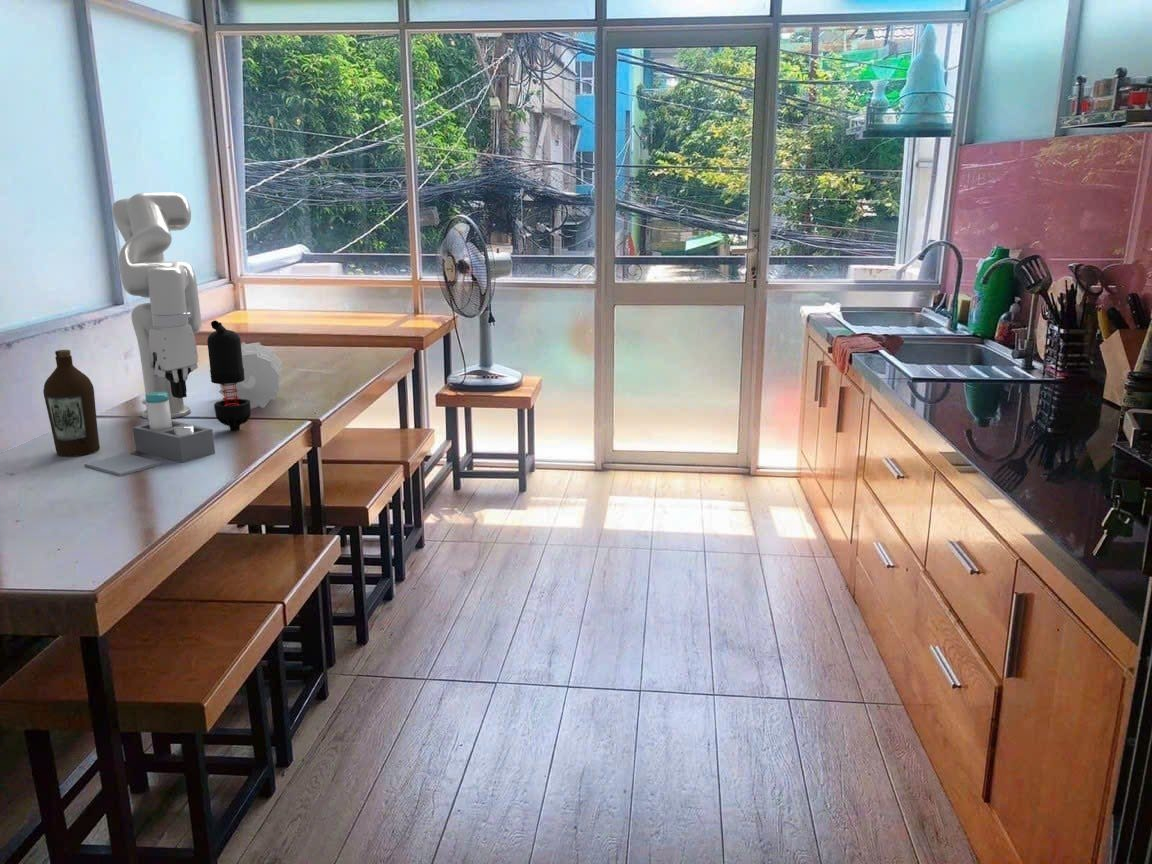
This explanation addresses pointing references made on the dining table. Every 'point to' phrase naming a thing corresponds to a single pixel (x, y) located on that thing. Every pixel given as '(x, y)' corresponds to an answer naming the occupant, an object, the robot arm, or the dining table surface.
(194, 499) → the dining table surface
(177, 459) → the housing
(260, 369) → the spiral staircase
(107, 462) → the mat
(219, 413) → the filter
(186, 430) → the silver metallic cylinder
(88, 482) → the dining table surface
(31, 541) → the dining table surface
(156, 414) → the cylinder
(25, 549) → the dining table surface
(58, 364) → the olive oil
